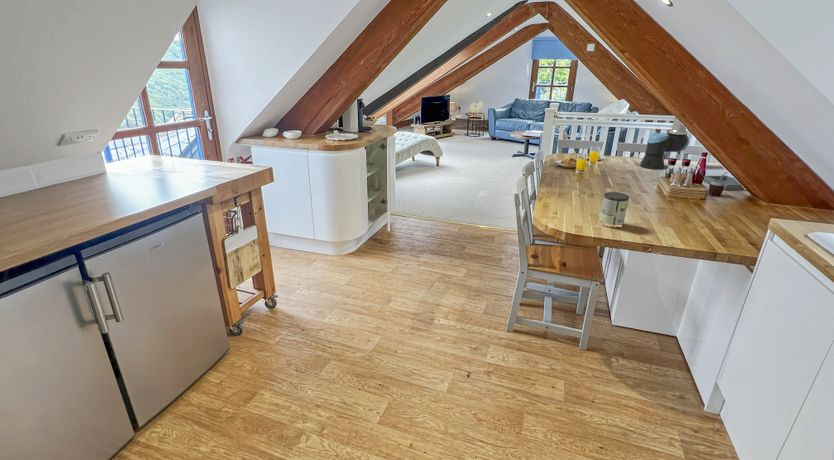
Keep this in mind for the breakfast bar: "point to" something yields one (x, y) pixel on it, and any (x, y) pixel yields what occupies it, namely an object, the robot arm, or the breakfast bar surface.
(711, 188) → the mate gourd
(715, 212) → the breakfast bar surface
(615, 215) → the coffee can
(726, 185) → the sorting tray
